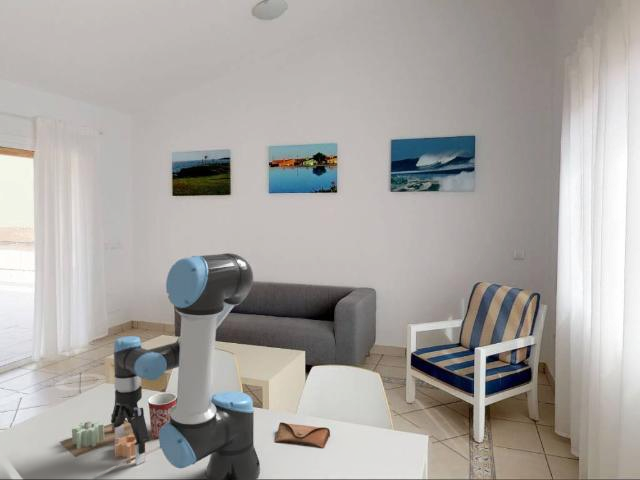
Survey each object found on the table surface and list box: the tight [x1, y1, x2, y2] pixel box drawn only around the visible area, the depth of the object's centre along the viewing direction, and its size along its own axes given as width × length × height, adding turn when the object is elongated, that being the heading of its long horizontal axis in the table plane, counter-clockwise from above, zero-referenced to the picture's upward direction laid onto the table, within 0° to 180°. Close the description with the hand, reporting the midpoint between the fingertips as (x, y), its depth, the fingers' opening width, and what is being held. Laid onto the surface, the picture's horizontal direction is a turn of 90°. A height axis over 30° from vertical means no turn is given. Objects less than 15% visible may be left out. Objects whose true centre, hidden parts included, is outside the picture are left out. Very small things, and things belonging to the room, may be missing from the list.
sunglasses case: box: [273, 422, 331, 449], centre depth 145 cm, size 18×7×7 cm, turn 79°
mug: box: [147, 392, 177, 440], centre depth 147 cm, size 13×9×14 cm
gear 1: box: [71, 419, 105, 449], centre depth 140 cm, size 9×8×5 cm
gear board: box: [59, 413, 134, 458], centre depth 144 cm, size 13×21×8 cm, turn 139°
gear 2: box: [113, 432, 136, 464], centre depth 135 cm, size 9×8×5 cm
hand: (129, 454), depth 135 cm, fingers open, 13 cm apart
